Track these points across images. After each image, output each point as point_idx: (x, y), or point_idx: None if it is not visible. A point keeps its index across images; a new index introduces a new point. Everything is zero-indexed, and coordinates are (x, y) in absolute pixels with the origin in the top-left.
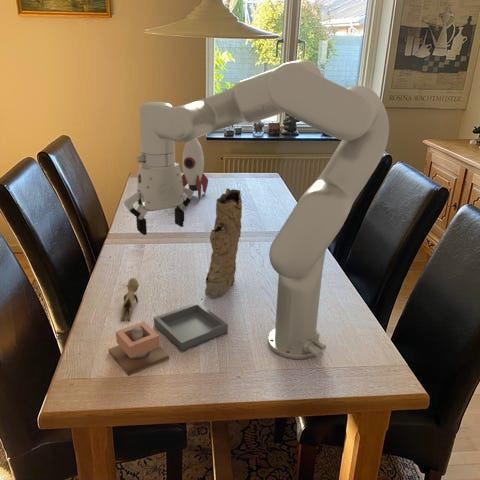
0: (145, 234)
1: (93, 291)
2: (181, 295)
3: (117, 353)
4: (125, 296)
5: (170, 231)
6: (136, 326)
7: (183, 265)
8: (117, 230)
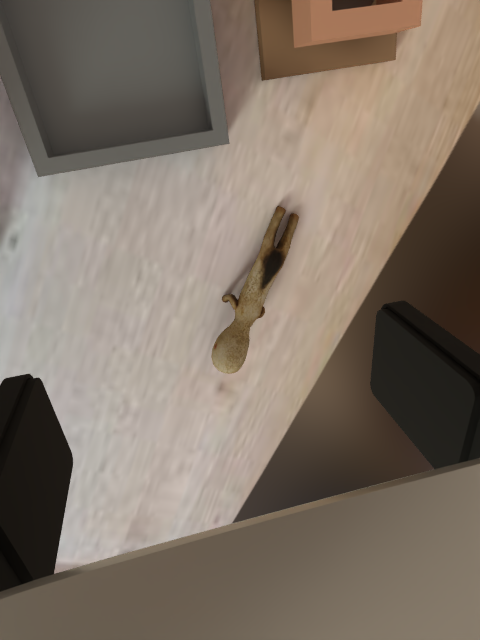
0: (391, 303)
1: (306, 383)
2: (82, 289)
3: None
4: (262, 310)
5: None
6: (349, 17)
7: None
8: None
